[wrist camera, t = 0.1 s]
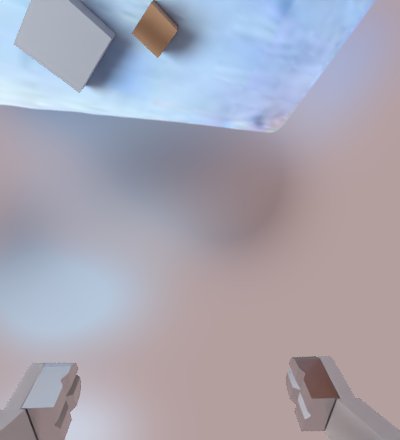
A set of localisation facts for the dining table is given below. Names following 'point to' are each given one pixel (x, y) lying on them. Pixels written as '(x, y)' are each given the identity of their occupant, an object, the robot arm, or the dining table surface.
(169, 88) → the dining table surface
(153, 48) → the walnut cube
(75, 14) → the plinth
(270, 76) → the dining table surface
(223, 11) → the dining table surface
